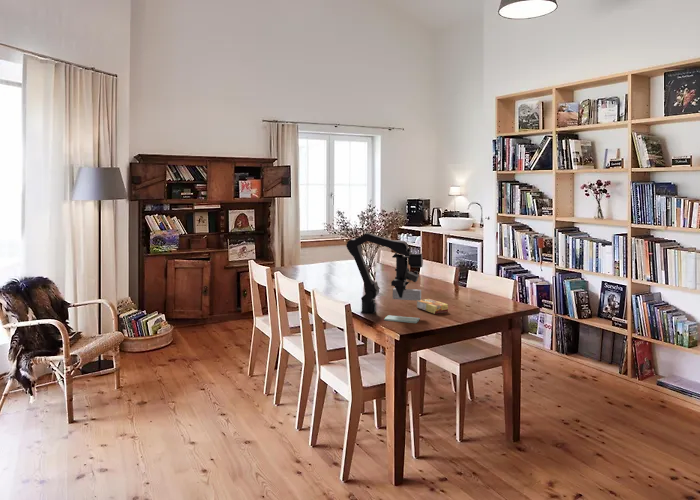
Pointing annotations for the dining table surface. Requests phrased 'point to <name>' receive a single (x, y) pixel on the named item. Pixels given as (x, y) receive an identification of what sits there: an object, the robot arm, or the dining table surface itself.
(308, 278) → the dining table surface
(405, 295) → the bar
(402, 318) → the pad
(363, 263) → the robot arm
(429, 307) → the candy box
